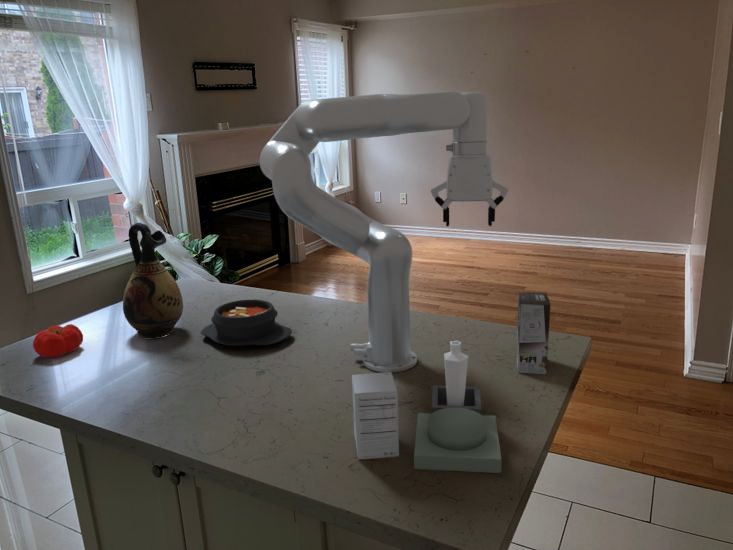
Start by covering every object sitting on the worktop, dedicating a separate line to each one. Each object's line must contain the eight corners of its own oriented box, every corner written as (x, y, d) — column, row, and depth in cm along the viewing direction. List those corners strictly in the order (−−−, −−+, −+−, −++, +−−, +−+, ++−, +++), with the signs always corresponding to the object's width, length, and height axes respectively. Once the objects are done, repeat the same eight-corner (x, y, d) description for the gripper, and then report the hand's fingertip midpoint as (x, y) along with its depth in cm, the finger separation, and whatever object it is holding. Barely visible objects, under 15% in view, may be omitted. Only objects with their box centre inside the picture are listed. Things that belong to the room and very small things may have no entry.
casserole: (306, 332, 160) (304, 302, 158) (266, 358, 144) (263, 325, 142) (230, 320, 170) (227, 292, 168) (185, 344, 154) (181, 313, 152)
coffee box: (547, 374, 130) (551, 304, 126) (517, 373, 131) (519, 303, 127) (544, 357, 139) (547, 291, 134) (515, 356, 140) (518, 290, 136)
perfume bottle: (469, 411, 116) (470, 339, 112) (464, 422, 112) (465, 348, 108) (445, 408, 118) (446, 336, 113) (440, 418, 114) (440, 345, 110)
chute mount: (414, 468, 98) (413, 441, 97) (420, 403, 120) (420, 380, 118) (501, 473, 96) (501, 445, 95) (491, 405, 118) (492, 382, 117)
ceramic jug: (198, 328, 165) (185, 221, 157) (152, 347, 153) (136, 232, 145) (157, 318, 174) (144, 216, 166) (111, 335, 162) (93, 227, 154)
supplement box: (353, 437, 108) (350, 373, 105) (394, 434, 109) (392, 370, 105) (356, 460, 101) (353, 393, 98) (400, 457, 102) (398, 389, 98)
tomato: (28, 359, 148) (23, 335, 146) (61, 343, 158) (56, 320, 156) (60, 363, 146) (56, 338, 144) (92, 345, 156) (88, 322, 154)
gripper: (430, 151, 131) (430, 228, 136) (510, 149, 129) (508, 228, 133) (431, 149, 138) (431, 222, 143) (507, 147, 136) (505, 221, 141)
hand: (468, 225), depth 138 cm, fingers open, 9 cm apart
